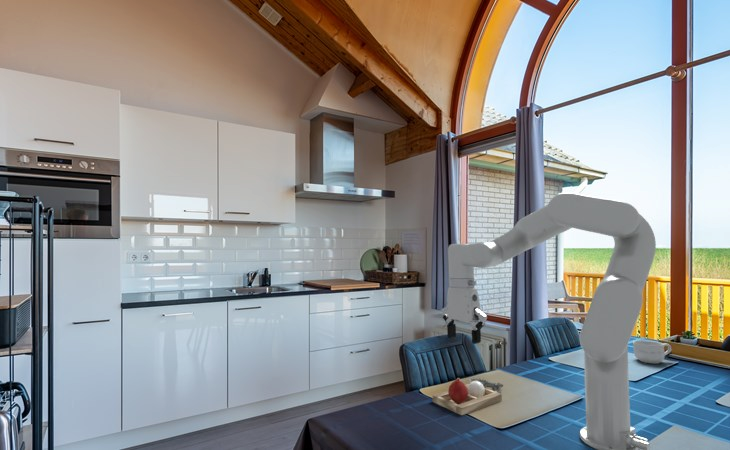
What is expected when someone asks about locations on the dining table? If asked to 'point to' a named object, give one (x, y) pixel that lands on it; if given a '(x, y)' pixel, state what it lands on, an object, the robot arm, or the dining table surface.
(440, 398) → the holder board
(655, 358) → the teacup
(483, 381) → the grey green leafy sprig
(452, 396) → the onion
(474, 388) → the ceramic egg
